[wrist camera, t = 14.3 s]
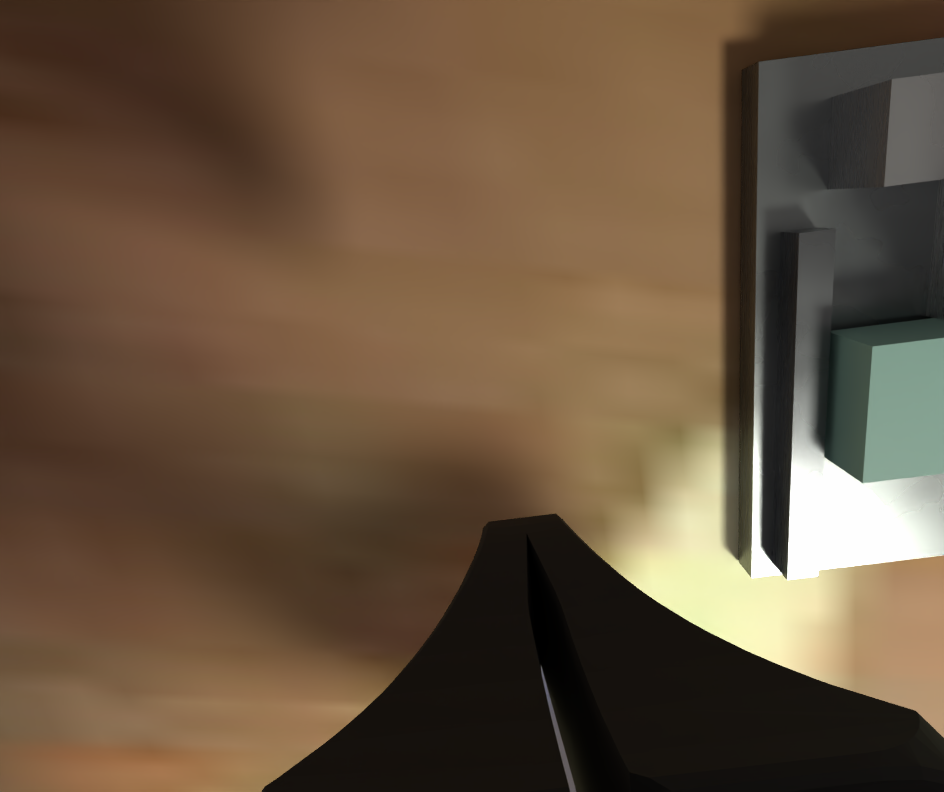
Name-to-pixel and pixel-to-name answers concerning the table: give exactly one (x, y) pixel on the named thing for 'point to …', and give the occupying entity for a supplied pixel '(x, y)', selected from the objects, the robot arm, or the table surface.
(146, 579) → the table surface
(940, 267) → the steel block
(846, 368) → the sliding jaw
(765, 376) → the vise bed
